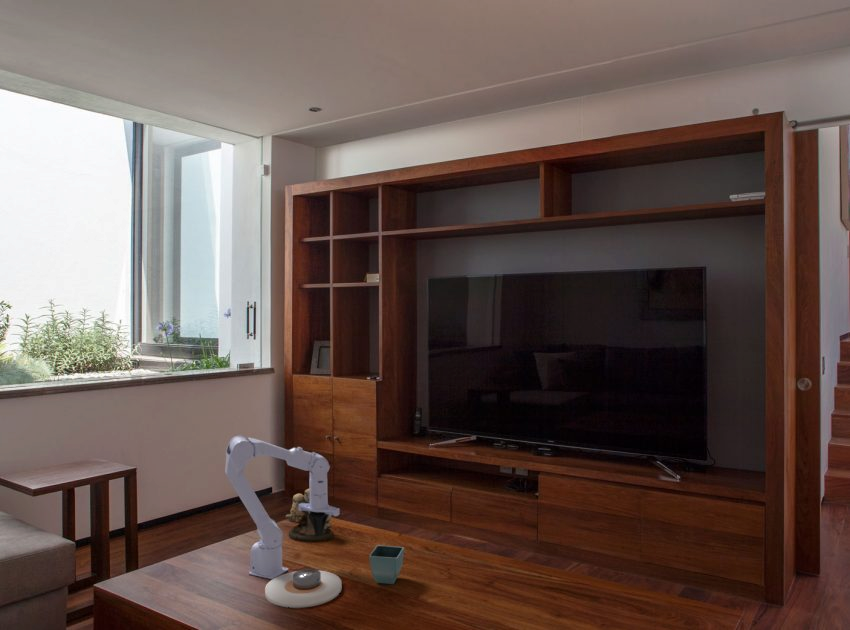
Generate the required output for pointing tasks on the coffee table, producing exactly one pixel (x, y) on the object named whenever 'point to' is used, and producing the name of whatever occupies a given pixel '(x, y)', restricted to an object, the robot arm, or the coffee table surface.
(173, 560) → the coffee table surface
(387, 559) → the flower pot
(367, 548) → the coffee table surface
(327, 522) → the owl figurine
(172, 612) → the coffee table surface
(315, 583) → the cast cover
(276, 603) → the turntable
